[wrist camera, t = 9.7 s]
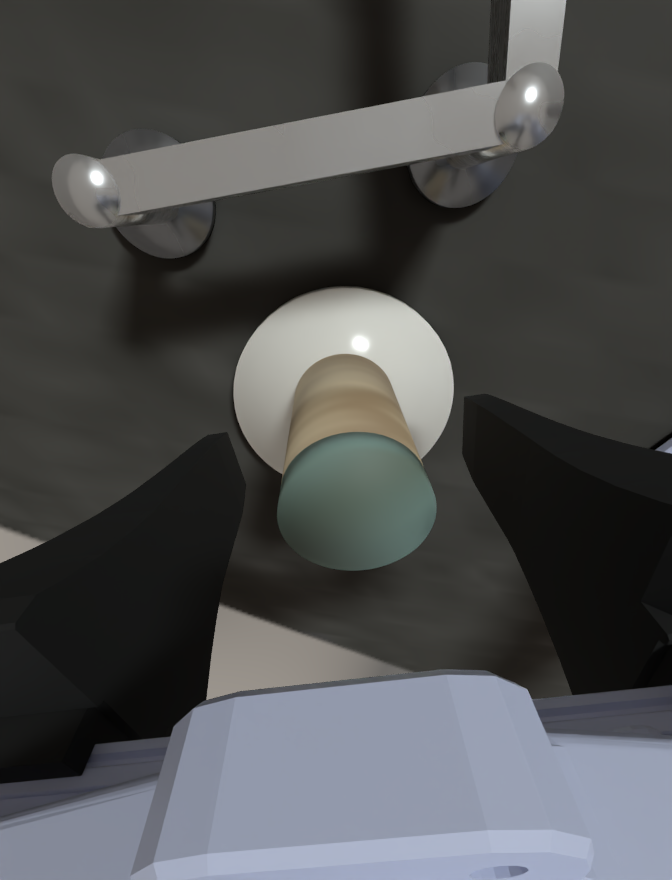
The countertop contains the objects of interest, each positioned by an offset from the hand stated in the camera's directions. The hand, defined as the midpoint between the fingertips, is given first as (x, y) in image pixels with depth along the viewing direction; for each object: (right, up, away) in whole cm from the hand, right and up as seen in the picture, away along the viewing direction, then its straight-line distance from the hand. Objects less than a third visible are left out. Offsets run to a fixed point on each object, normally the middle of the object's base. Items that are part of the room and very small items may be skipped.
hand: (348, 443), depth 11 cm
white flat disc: (0, +2, +3) cm, 3 cm away
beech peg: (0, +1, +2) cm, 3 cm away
